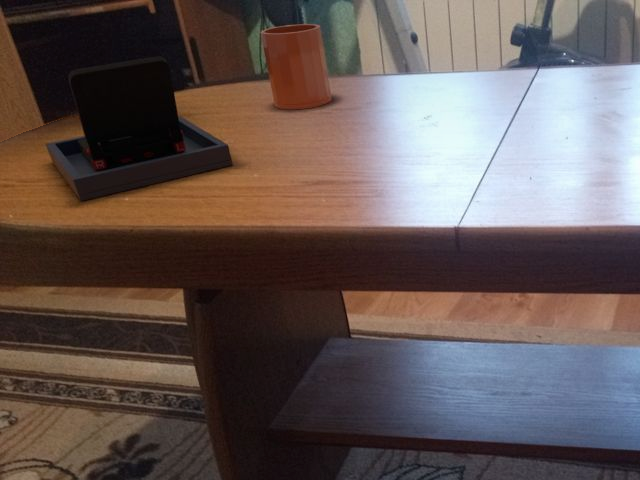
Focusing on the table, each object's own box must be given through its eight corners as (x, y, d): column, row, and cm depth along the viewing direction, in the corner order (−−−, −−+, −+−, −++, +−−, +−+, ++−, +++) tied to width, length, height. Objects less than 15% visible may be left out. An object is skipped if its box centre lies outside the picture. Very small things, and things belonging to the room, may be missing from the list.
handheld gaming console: (167, 135, 84) (141, 42, 79) (197, 158, 75) (170, 55, 70) (79, 153, 80) (46, 56, 75) (101, 180, 71) (64, 72, 66)
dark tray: (52, 162, 80) (45, 143, 79) (185, 134, 86) (181, 116, 85) (81, 201, 68) (73, 179, 67) (233, 165, 74) (228, 144, 73)
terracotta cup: (266, 103, 98) (251, 30, 93) (317, 93, 101) (305, 22, 96) (288, 112, 92) (273, 36, 88) (341, 101, 96) (329, 27, 91)
